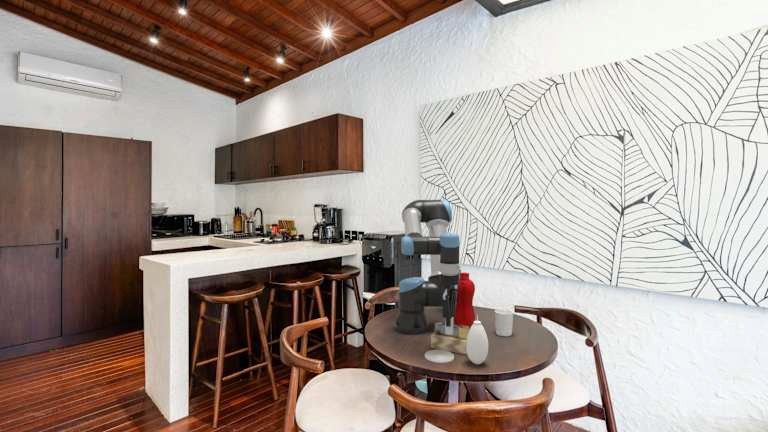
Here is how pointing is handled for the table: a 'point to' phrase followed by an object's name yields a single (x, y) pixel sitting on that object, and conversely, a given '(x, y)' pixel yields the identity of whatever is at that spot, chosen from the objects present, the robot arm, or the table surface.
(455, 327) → the lever
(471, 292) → the red lumpy piece
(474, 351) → the sauce bottle
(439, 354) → the white round disc
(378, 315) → the table surface
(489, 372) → the table surface
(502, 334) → the white cup
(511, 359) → the table surface
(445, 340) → the beige long block
